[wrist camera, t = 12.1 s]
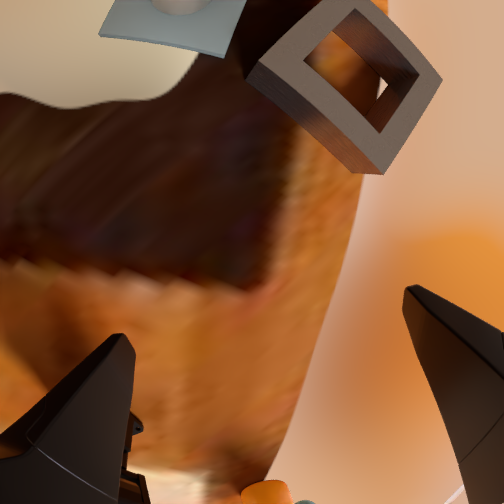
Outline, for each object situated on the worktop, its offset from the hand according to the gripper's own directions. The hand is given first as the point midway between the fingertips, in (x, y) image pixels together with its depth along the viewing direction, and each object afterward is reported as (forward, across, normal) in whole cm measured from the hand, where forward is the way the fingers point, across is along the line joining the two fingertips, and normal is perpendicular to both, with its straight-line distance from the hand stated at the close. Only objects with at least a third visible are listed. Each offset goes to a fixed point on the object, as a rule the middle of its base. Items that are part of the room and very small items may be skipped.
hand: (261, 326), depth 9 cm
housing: (+16, -8, -7) cm, 19 cm away
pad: (+15, +2, -15) cm, 22 cm away
